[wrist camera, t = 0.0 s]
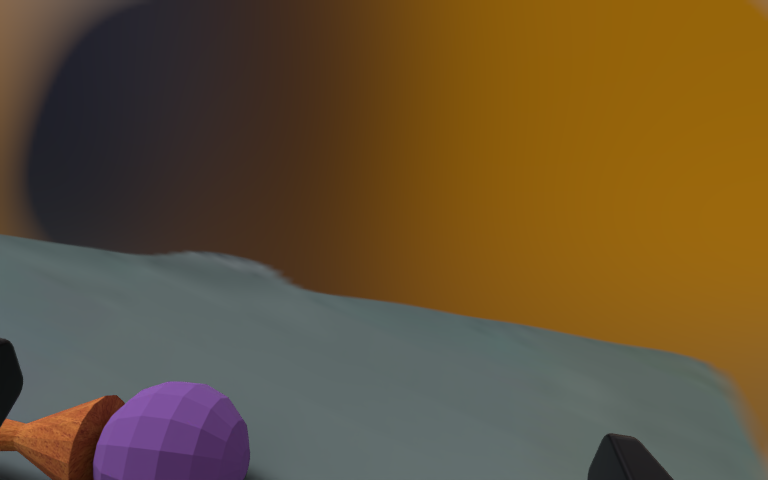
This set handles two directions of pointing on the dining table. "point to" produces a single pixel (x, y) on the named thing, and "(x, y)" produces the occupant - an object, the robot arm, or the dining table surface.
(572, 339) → the dining table surface
